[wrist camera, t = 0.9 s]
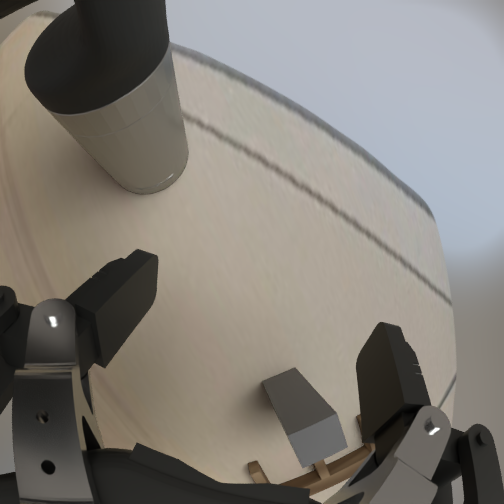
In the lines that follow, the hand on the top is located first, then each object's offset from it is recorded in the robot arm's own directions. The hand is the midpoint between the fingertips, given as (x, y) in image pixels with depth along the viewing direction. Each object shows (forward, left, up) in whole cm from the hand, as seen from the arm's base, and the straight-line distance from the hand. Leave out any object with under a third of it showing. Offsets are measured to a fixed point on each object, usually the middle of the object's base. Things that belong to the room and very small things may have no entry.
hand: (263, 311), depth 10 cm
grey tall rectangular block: (+13, +1, -20) cm, 24 cm away
